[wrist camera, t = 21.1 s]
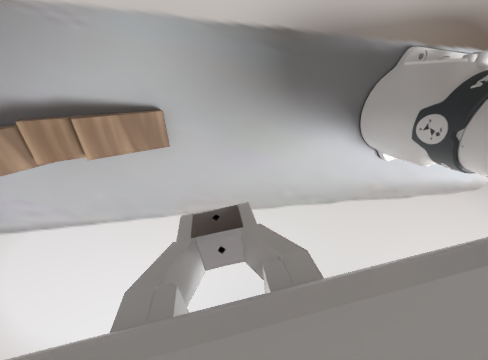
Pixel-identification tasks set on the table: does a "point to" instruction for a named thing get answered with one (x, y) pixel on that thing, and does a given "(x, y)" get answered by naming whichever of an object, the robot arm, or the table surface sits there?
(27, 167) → the domino
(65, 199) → the table surface
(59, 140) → the domino
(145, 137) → the domino
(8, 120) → the table surface
